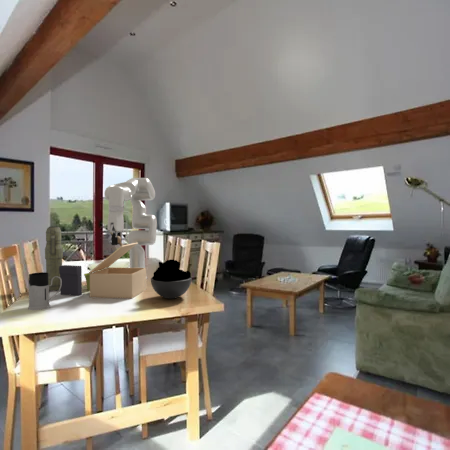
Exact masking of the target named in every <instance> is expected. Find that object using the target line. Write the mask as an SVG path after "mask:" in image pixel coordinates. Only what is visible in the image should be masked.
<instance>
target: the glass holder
mask: <svg viewBox="0 0 450 450" xmlns="http://www.w3.org/2000/svg"><path fill="white" fill-rule="evenodd" d="M55 277H58V276H55ZM55 277H53V278H52V280H51V285H52V281H53V279H54V278H55ZM58 278H59V279H60V281H61V284H60V288H59V290H58V291H56V293H55V294H54V295H53V296H52V297H50V291H49V286H51V285H49V284H48V273H46V271H43V272H40V271H39V272H33V273H29V274H28V307H27V309H28V310H29V311H38V310H44V309H48V308H50V307H51V303H50V301H51V300H52V299H53V298H54V297H56V296H57V295H58V293H59V292H60V289H61V285H62V280H61V278H60V277H58Z"/></svg>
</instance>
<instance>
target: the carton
mask: <svg viewBox="0 0 450 450" xmlns="http://www.w3.org/2000/svg"><path fill="white" fill-rule="evenodd" d="M146 276H147V267H145V268H130V267H113V266H112V267H111V266H109V267H107V268H104V269H101V270H98V271H95V272H92V273H90V290H89V298H92V299H95V298H96V299H97V298H99V299H134V298H135V297H137V296H138V295H141V294H142V293H143V292H145V291H146V290H147V279H146Z"/></svg>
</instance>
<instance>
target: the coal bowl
mask: <svg viewBox="0 0 450 450" xmlns="http://www.w3.org/2000/svg"><path fill="white" fill-rule="evenodd" d="M180 268H181V262H180V261H179V260H177V259H167V260H166V261H164V262H162V261H159V262H158V267H157V269H156V270H155V271H154V272H153V275H152V277H151V278H150V284H151V286H152V288H153V290H154V291H155V292H156V294H158V296H160V297H162V298H165V299H177V298H179V297H181V296H183V295H184V294H185V293H186V292H187V291H188V290H189V289H190V287H191V284H192V273H191V272H190V270H186V271H184V270H183V269H180Z"/></svg>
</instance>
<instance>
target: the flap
mask: <svg viewBox="0 0 450 450" xmlns="http://www.w3.org/2000/svg"><path fill="white" fill-rule="evenodd" d="M117 237H118V243H119V244H118V245H119V247H118V248H117V249H115V251H114V252H112V253H111V254H109V256H108V257H106V258H105V259H104V260H102V261H101V262H100V263H98V264H97V265H96V266H95V267H94V268H92V269H91V270H89V272H88V273H89V274H90V273H93V272H96V271H99V270H102V269H105V268H108V267H111V266H112V265H113V264H115V263H116V262H117V261H118V260H120V258H122V257H124V255H125V254H126V253H128V252H130V249H132V248H133V247H134V246H135V245H136V244H138V243H132V244H129V243H128V244H123V242H122V243H121V237H120V236H117Z"/></svg>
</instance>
